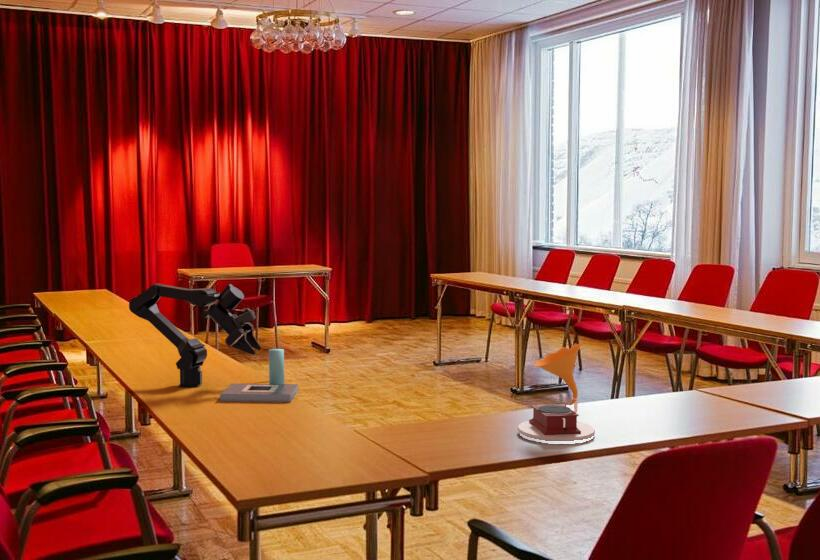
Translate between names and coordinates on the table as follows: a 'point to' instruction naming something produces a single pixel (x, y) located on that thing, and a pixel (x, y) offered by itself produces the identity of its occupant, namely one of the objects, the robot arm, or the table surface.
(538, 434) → the gramophone
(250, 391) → the flange plate
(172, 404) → the table surface
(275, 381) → the teal peg
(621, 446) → the table surface
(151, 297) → the robot arm
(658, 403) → the table surface
